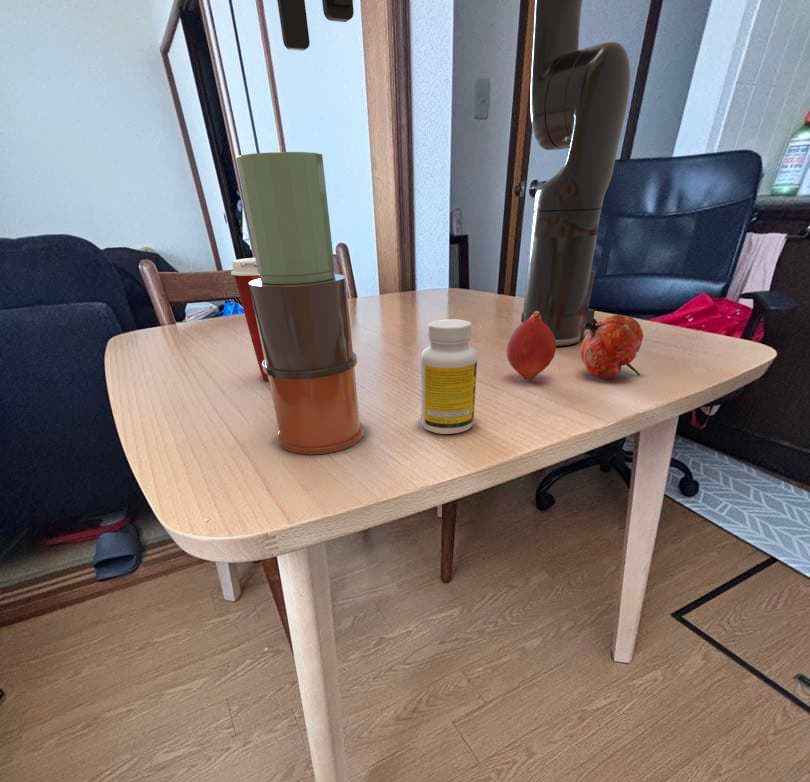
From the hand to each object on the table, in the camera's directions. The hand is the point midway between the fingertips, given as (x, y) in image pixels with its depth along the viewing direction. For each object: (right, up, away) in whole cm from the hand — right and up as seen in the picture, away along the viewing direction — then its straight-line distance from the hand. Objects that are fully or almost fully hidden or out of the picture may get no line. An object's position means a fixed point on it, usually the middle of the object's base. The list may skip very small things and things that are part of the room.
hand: (316, 35), depth 38 cm
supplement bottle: (+12, -30, +10) cm, 33 cm away
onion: (+23, -21, +22) cm, 38 cm away
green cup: (-2, -19, +1) cm, 20 cm away
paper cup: (-10, -19, +27) cm, 34 cm away
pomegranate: (+33, -20, +22) cm, 45 cm away
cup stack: (-1, -31, +9) cm, 32 cm away
